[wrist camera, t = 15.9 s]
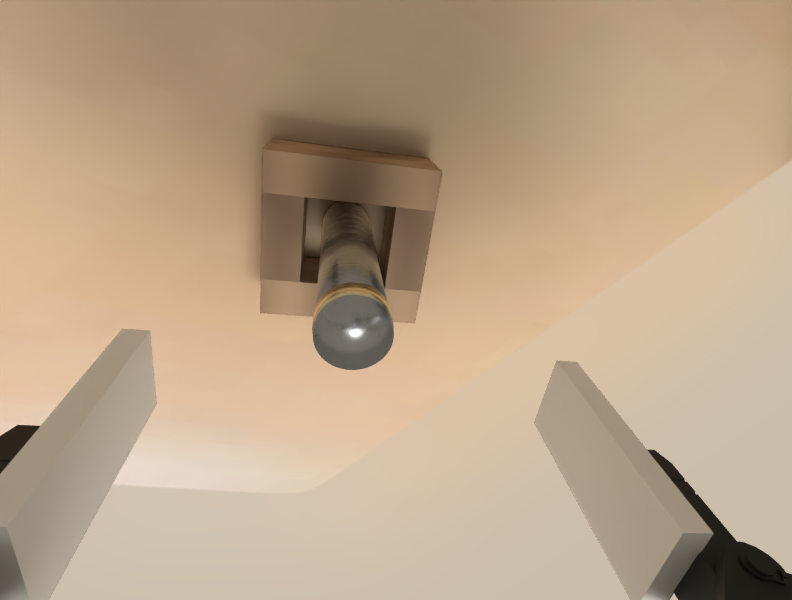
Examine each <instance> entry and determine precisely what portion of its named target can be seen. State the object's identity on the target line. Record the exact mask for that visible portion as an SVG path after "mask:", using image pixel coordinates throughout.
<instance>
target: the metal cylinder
mask: <svg viewBox="0 0 792 600" xmlns="http://www.w3.org/2000/svg"><path fill="white" fill-rule="evenodd" d="M312 331H313V341H314V345H315V348H316V350H317V352H318V353H319V355H320V356H321V357H322V358H323V359H324V360H325V361H326V362H328V363H329V364H331V365H333V366H335V367H338V368H342V369H347V370H358V369H363V368H367V367H369V366H372V365H374V364H376V363H377V362H379V361H380V360H381V359H382V358H383V357H384V356H385V355H386V354H387V353H388V351H389V350H390V348H391V346H392V342H393V337H394V331H393V319H392V315H391V311H390V307H389V304H388V302H387V298H386V294H385V290H384V285H383V281H382V276H381V272H380V267H379V263H378V258H377V254H376V249H375V245H374V240H373V236H372V231H371V227H370V222H369V218H368V215H367V214H366V212H365V211H364V209H363V208H362V207H360V206H359V205H357V204H355V203H352V202H340V203H337V204H335V205H333V206H331V207H330V208H329V209H328V210H327V212H326V213H325V215H324V218H323V225H322V237H321V249H320V260H319V272H318V284H317V296H316V306H315V309H314V316H313V327H312Z"/></svg>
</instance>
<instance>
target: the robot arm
mask: <svg viewBox="0 0 792 600" xmlns="http://www.w3.org/2000/svg"><path fill="white" fill-rule="evenodd" d="M156 404H157V402H156V391H155V380H154V369H153V358H152V347H151V336H150V331H146V330H133V329H122V330H121V331H120V332H119V333H118V335H117V336H116V337H115V338H114V339H113V341H112V342H111V343H110V344H109V345H108V346H107V348H106V349H105V350H104V351H103V352H102V354H101V355H100V356H99V357H98V358H97V360H96V361H95V362H94V363H93V364H92V365H91V367H90V368H89V369H88V370H87V371H86V373H85V374H84V375H83V376H82V377H81V379H80V380H79V381H78V382H77V383H76V385H75V386H74V387H73V388H72V389H71V390H70V392H69V393H68V394H67V395H66V396H65V398H64V399H63V400H62V401H61V402H60V404H59V405H58V406H57V407H56V408H55V410H54V411H53V412H52V413H51V414H50V415H49V417H48V418H47V419H46V420H45V421H44V423H43V424H42V425H41V426H29V425H17V426H16V427H14V428H12V429H11V430H9V431H8V432H6V433H4V434H3V435H1V436H0V600H49V598H50V597H51V595H52V593H53V591H54V589H55V587H56V586H57V584H58V582H59V580H60V578H61V576H62V575H63V573H64V571H65V569H66V568H67V566H68V564H69V562H70V560H71V558H72V557H73V555H74V553H75V551H76V549H77V548H78V546H79V544H80V542H81V540H82V538H83V537H84V535H85V533H86V531H87V529H88V527H89V526H90V524H91V522H92V520H93V519H94V517H95V515H96V513H97V511H98V509H99V508H100V506H101V504H102V502H103V500H104V499H105V497H106V495H107V493H108V491H109V489H110V488H111V486H112V484H113V482H114V480H115V479H116V477H117V475H118V473H119V471H120V469H121V468H122V466H123V464H124V462H125V460H126V459H127V457H128V455H129V453H130V451H131V449H132V448H133V446H134V444H135V442H136V440H137V439H138V437H139V435H140V433H141V431H142V430H143V428H144V426H145V424H146V422H147V420H148V419H149V417H150V415H151V413H152V411H153V410H154V408H155V406H156ZM534 423H535V425H536V427H537V429H538V431H539V432H540V434H541V436H542V438H543V440H544V442H545V443H546V445H547V447H548V449H549V451H550V453H551V455H552V456H553V458H554V460H555V462H556V464H557V465H558V467H559V469H560V471H561V473H562V475H563V477H564V478H565V480H566V482H567V484H568V486H569V488H570V489H571V491H572V493H573V495H574V497H575V499H576V501H577V502H578V504H579V506H580V508H581V510H582V512H583V514H584V515H585V517H586V519H587V521H588V523H589V525H590V527H591V528H592V530H593V532H594V534H595V536H596V538H597V539H598V541H599V543H600V545H601V547H602V549H603V551H604V552H605V554H606V556H607V558H608V560H609V561H610V563H611V565H612V567H613V569H614V571H615V573H616V574H617V576H618V578H619V580H620V582H621V584H622V586H623V587H624V589H625V591H626V593H627V595H628V597H629V598H630V600H670V598H671V597H672V595H673V594H674V593H675V595H676V597H677V598H678V600H792V574H789V573H786V572H785V571H784V569H783V568H782V567H781V566H780V565H779V564H778V563H777V562H776V561H775V560H774V559H773V558H771V557H770V556H769V555H768V554H766V553H764V552H763V551H761V550H760V549H758V548H756V547H754V546H752V545H749V544H746V543H744V542H737V541H736V540H735V539H734V538H733V536H732V535H731V534H730V533H729V532H728V531H727V529H726V528H725V527H724V526H723V524H722V523H721V522H720V521H719V520H718V518H717V517H716V516H715V515H714V514H713V512H712V511H711V510H710V509H709V508H708V506H707V505H706V504H705V503H704V502H703V500H702V499H701V498H700V497H699V496H698V495H696V494H695V491H694V490H693V488H692V487H691V486H690V485H689V484H688V483H687V482H685V481H684V478H683V476H682V475H681V474H680V473H679V472H678V470H677V469H676V468H675V467H674V466H673V464H672V463H670V462H669V461H668V460H666V459H665V458H664V457H663V456H661V455H660V454H659V453H657V452H656V451H655V450H647V449H646V448H645V447H644V445H643V444H642V443H641V442H640V441H639V439H638V438H637V437H636V435H635V434H634V433H633V432H632V430H630V428H629V427H628V425H627V424H626V423H625V422H624V420H623V419H622V418H621V417H620V415H619V414H618V413H617V412H616V410H615V409H614V408H613V407H612V405H611V404H610V403H609V402H608V400H607V399H606V398H605V397H604V395H603V394H602V393H601V392H600V390H598V388H597V387H596V385H595V384H594V383H593V382H592V380H591V379H590V378H589V377H588V376H587V374H586V373H585V372H584V370H583V369H582V368H581V367H580V365H579V364H578V363H577V362H568V361H556V364H555V366H554V369H553V372H552V374H551V378H550V380H549V383H548V386H547V389H546V391H545V394H544V397H543V399H542V402H541V405H540V408H539V410H538V413H537V416H536V419H535V422H534Z"/></svg>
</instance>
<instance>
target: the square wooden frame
mask: <svg viewBox="0 0 792 600" xmlns="http://www.w3.org/2000/svg"><path fill="white" fill-rule="evenodd" d="M441 176H442V171H441V170H440V169H439V168H438V167H437V166H436V165H435V164H434V163H433V162H432V161H431V160H430V159H427V158H419V157H411V156H403V155H396V154H388V153H380V152H372V151H364V150H356V149H349V148H341V147H333V146H325V145H317V144H310V143H302V142H294V141H286V140H278V139H272V140H271V141H270V142H269V143H268V144H267V145H266V146H265V147H264V148H263V155H262V224H261V293H260V313H268V314H283V315H298V316H314V309H315V306H316V296H317V284H318V272H319V260H320V259H318V258H307V257H304V249H305V231H306V214H307V197H308V198H317V199H326V200H335V201H345V202H354V203H363V204H372V205H381V206H387V209H386V217H385V224H384V232H383V239H382V247H381V254H380V262H379V267H380V272H381V276H382V281H383V285H384V290H385V294H386V298H387V302H388V304H389V307H390V311H391V315H392V319H393V322H403V323H415V320H416V315H417V309H418V304H419V298H420V293H421V287H422V281H423V276H424V270H425V265H426V259H427V254H428V248H429V243H430V237H431V231H432V226H433V220H434V215H435V209H436V204H437V198H438V193H439V187H440V182H441Z"/></svg>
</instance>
